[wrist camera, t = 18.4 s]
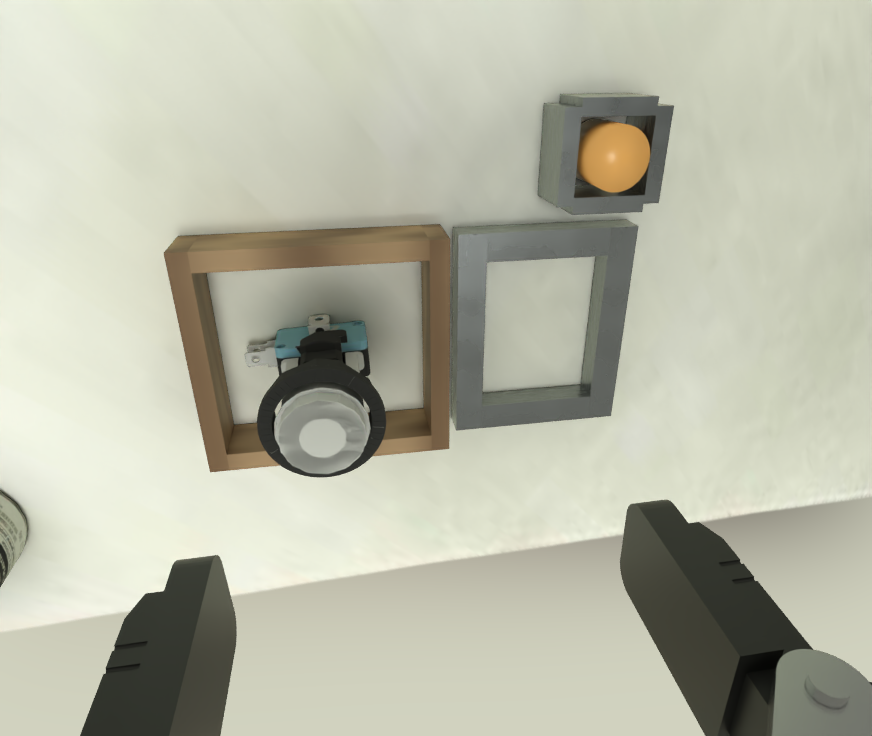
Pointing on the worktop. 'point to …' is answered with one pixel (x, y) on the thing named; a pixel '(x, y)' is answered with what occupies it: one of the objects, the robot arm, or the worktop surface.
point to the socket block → (603, 332)
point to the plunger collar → (564, 146)
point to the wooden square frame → (301, 250)
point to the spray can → (10, 535)
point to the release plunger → (611, 155)
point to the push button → (319, 399)
